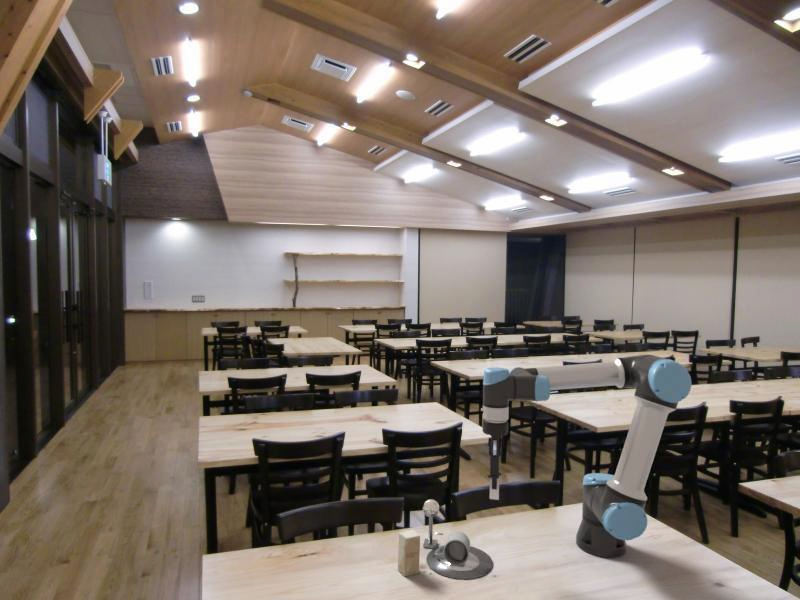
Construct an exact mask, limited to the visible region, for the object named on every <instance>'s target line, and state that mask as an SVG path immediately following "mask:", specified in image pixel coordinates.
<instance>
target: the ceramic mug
mask: <svg viewBox="0 0 800 600" xmlns="http://www.w3.org/2000/svg"><path fill="white" fill-rule="evenodd" d="M444 545H445V546H444ZM444 545H441V546H442V547H440V546H439V547H440V548H438V549H437V550H436V551H435V556H436V558H437V559H443V558H445V559H446V560H447V562H449V563H450V564H452V565H455V566H460V565H463V564H464V563H465V562H466V561H467V560H468V557H469V551H470V546H471V541H470V538H469V536H468V535H467V534H465V533H464V532H461V531H453V532H452V533H450V534H449V536H448V537H447V539H446V542H445V544H444ZM441 552H443V553H441Z"/></svg>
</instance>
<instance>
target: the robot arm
mask: <svg viewBox="0 0 800 600" xmlns="http://www.w3.org/2000/svg"><path fill="white" fill-rule="evenodd" d="M482 385H483V386H482V390H483V391H482V407H481V408H480V412H483V413H482V418H483V420H482V433H483V434H484V435H487V436H488V435H489V436H490V437H488V440H487V441H488V442H487V443H488V445H487V446H488V454H489V457H490V469H489V471H490V472H489V473H490V474H487V478H488V479H489V500H495V501H496V500H497V501H499V500H500V476H501V477H502V473H501V472H500V456H501V455H502V454H501V453H502V450H501V449H502V447H503V439H502V438H500V436H502V437H504V436H506V435H508V433H509V422H508V420H509V417H510V416H509V415H510V414H509V411H510V410H509V409H510V407H509V403H510V401H518V402H519V401H521V402H525V401H526V402H546V401H548V400H549V399H550V396H551V391H556V390H557V391H558V390H572V389H581V388H584V389H585V388H594V387H595V388H596V387H609V386H611V387H612V386H616V387H617V388H618V389H625V388H626V389H635V391H634V395H633V396H634V399H635V400H636V403H637V404H636V408H635V410H634V412H633V413H634V414H633V416H632V419H631V423H630V426H629V429H628V432H627V436H626V439H625V441H624V444H623V448H622V451H621V454H620V457H619V461H618V463H617V465H616V470H615V473H614V474H610V473H601V472H600V473H599V472H592V473H587V474H585V475H584V476H583V479H582V480H583V481H582V483H581V484H582V485H581V486H582V512H581V513H582V515H581V516H582V518H581V521H580V525H579V527H578V530H577V533H576V535H575V543H576V545H577V547H578V548H580V550H582V551H583V552H586V553H589V554H591V555H594V556H597V557H601V558H617V557H621V556H624V555H625V554H626V552H627V542H626V541H632V540H634V539H636V538H639V537H640V536H642V535H643V534H644V532H645V531H646V528H647V526H648V517H647V513H646V511H645V507H646V504H647V501H648V496H647V495H646V493H645V487H646V483H647V480H648V479H649V474H650V472H651V468H652V465H653V462H654V459H655V456H656V453H657V450H658V447H659V444H660V440H661V437H662V434H663V431H664V428H665V425H666V423H667V419H668V416H669V414H670V413H673V412H674V411H676V410H677V408H678V404H679V402H681V401H683V400H684V399H686V398H688V395H689V394H690V392H691V390H692V378H691V375H690V373H689V371H688V369H687V368H686V367H685V366H683V365H682V364H681V363H679V362H677V361H676V360H673V359H669V358H665V357H661V356H658V355H653V354H639V355H632V356H624V357H615V358H613V359H612V361H606V362H605V361H603V362H591V363H579V364H566V365H554V366H552V365H551V366H541V367H529V368H528V367H527V368H524V367H520V366H519V367H518V366H517V367H513V368H511V369H510V370H509V369H508V368H505V367H496V366H495V367H494V366H493V367H492V366H491V367H488V368H485V369H484V371H483V381H482Z"/></svg>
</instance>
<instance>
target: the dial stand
mask: <svg viewBox="0 0 800 600" xmlns="http://www.w3.org/2000/svg"><path fill="white" fill-rule="evenodd" d="M422 511H423V514H424V515H425V516H426V517H428V538H425V539H424V541H423V545H422V547H423V548H425V549H432V550H433V549H435V548H437V547H438V546H437V545H438V539H433V535H437V536H438V535H439V536H444V533H443V532H435V531H433V529H434V528H433V527H434V526H433V525H434V522H433V521H434V518H435V517H437V515H438V514H439V511H440V505H439V502H438V501H436V500H435V499H427V500H426V501H424V504H423V507H422Z"/></svg>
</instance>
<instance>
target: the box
mask: <svg viewBox="0 0 800 600" xmlns="http://www.w3.org/2000/svg"><path fill="white" fill-rule="evenodd" d="M397 551H398V553H397V554H398V555H397V556H398V558H397V571H399V573H400V574H401V575H402V576H404V577H408V576H413V575H416V574H419V573H420V558H421V557H420V551H421V535H420V534H419V533H418V532H417V531H416V530H414V529H411V530H405V531H401V532H399V533H398V550H397Z"/></svg>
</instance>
